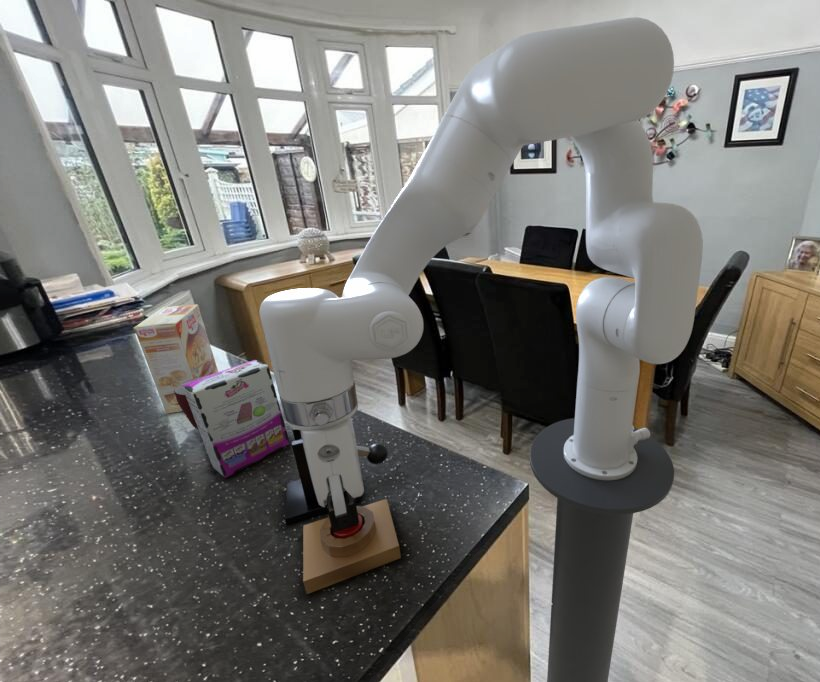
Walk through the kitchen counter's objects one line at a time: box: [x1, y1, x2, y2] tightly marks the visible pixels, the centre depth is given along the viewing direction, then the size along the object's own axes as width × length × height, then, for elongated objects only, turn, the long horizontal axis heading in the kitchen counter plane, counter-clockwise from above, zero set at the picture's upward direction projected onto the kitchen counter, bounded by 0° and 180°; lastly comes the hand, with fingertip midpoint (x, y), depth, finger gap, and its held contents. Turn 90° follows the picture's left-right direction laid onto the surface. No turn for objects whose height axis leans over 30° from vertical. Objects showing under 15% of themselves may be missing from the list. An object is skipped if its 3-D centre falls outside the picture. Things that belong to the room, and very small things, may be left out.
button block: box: [302, 498, 402, 595], centre depth 52 cm, size 11×9×4 cm
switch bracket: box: [284, 428, 362, 526], centre depth 59 cm, size 10×8×12 cm
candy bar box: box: [182, 359, 291, 479], centre depth 67 cm, size 11×5×16 cm, turn 147°
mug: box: [174, 375, 209, 431], centre depth 77 cm, size 11×8×10 cm
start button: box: [333, 514, 363, 539], centre depth 51 cm, size 4×4×2 cm
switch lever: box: [300, 437, 388, 465], centre depth 60 cm, size 13×3×3 cm
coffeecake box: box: [133, 303, 219, 415], centre depth 86 cm, size 15×7×20 cm, turn 22°
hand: (345, 523), depth 51 cm, fingers closed
